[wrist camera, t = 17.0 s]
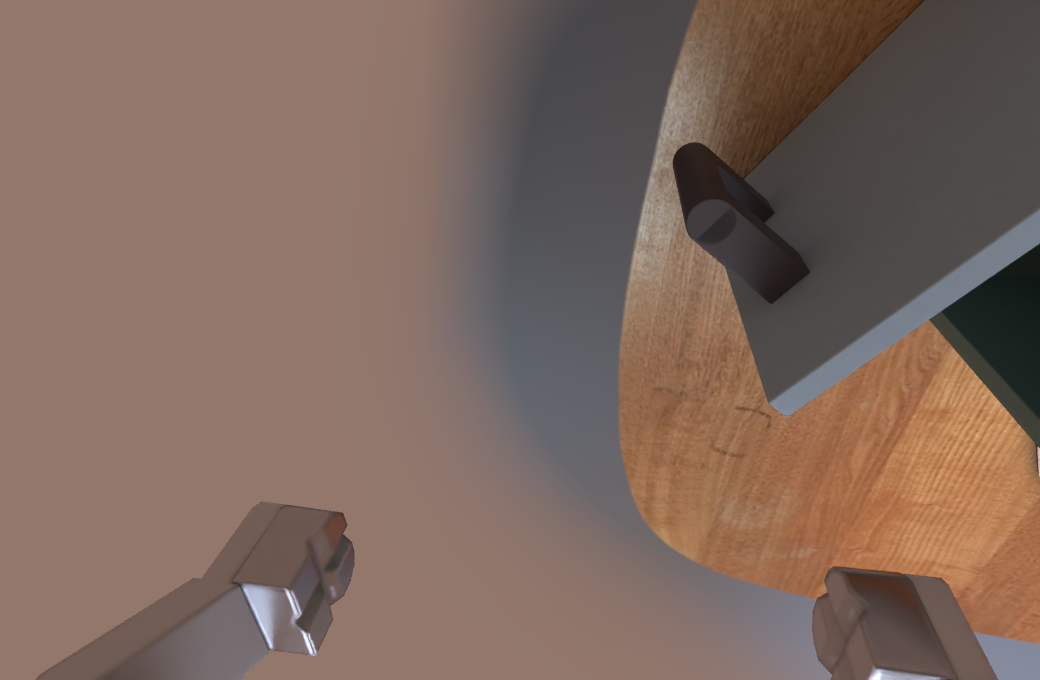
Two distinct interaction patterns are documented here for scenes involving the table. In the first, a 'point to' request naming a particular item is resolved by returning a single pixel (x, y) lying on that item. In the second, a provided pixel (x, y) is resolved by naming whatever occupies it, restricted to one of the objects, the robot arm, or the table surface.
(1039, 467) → the plate
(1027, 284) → the cupboard
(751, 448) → the table surface
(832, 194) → the cabinet door
